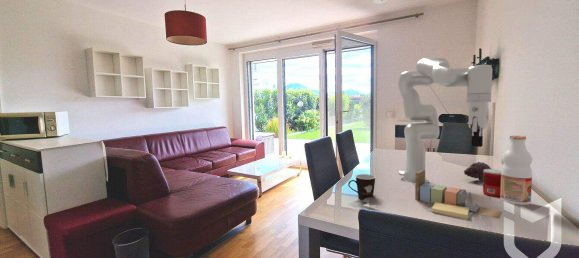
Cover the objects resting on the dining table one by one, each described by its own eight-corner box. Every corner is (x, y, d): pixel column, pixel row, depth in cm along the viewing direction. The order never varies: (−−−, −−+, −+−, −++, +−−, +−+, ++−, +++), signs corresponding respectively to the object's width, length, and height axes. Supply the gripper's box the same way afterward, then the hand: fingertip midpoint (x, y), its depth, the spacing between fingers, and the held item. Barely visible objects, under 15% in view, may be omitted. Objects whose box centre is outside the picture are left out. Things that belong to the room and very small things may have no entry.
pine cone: (469, 183, 134) (469, 164, 133) (457, 178, 144) (457, 160, 143) (503, 182, 134) (504, 163, 133) (489, 177, 144) (489, 159, 143)
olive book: (430, 202, 106) (430, 188, 106) (435, 198, 111) (436, 184, 110) (441, 204, 104) (441, 190, 103) (446, 200, 108) (446, 186, 107)
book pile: (426, 214, 98) (426, 206, 98) (434, 207, 105) (434, 200, 104) (466, 224, 89) (467, 216, 89) (472, 216, 95) (473, 208, 95)
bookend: (457, 208, 99) (457, 193, 99) (461, 203, 104) (462, 189, 103) (476, 213, 95) (476, 197, 94) (480, 207, 100) (480, 192, 99)
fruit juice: (495, 199, 112) (498, 134, 109) (522, 200, 109) (525, 134, 107) (506, 207, 103) (509, 137, 101) (536, 209, 100) (539, 137, 98)
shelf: (415, 202, 110) (415, 173, 109) (422, 198, 116) (422, 169, 115) (499, 222, 90) (500, 186, 89) (502, 215, 96) (503, 181, 95)
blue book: (419, 199, 110) (419, 186, 109) (425, 196, 114) (425, 182, 114) (429, 202, 107) (430, 188, 106) (435, 198, 111) (435, 184, 111)
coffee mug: (375, 195, 121) (375, 174, 120) (375, 202, 112) (375, 179, 112) (350, 193, 124) (349, 173, 124) (348, 199, 116) (347, 178, 115)
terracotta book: (460, 203, 104) (461, 189, 104) (456, 208, 100) (456, 193, 99) (449, 201, 107) (449, 187, 107) (444, 205, 103) (444, 190, 102)
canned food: (509, 198, 113) (510, 173, 112) (488, 197, 114) (489, 172, 113) (498, 192, 120) (499, 169, 119) (479, 191, 122) (480, 168, 121)
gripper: (487, 98, 90) (485, 150, 92) (494, 98, 101) (492, 144, 102) (461, 99, 96) (460, 147, 97) (471, 98, 106) (469, 143, 108)
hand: (476, 146), depth 100 cm, fingers closed
